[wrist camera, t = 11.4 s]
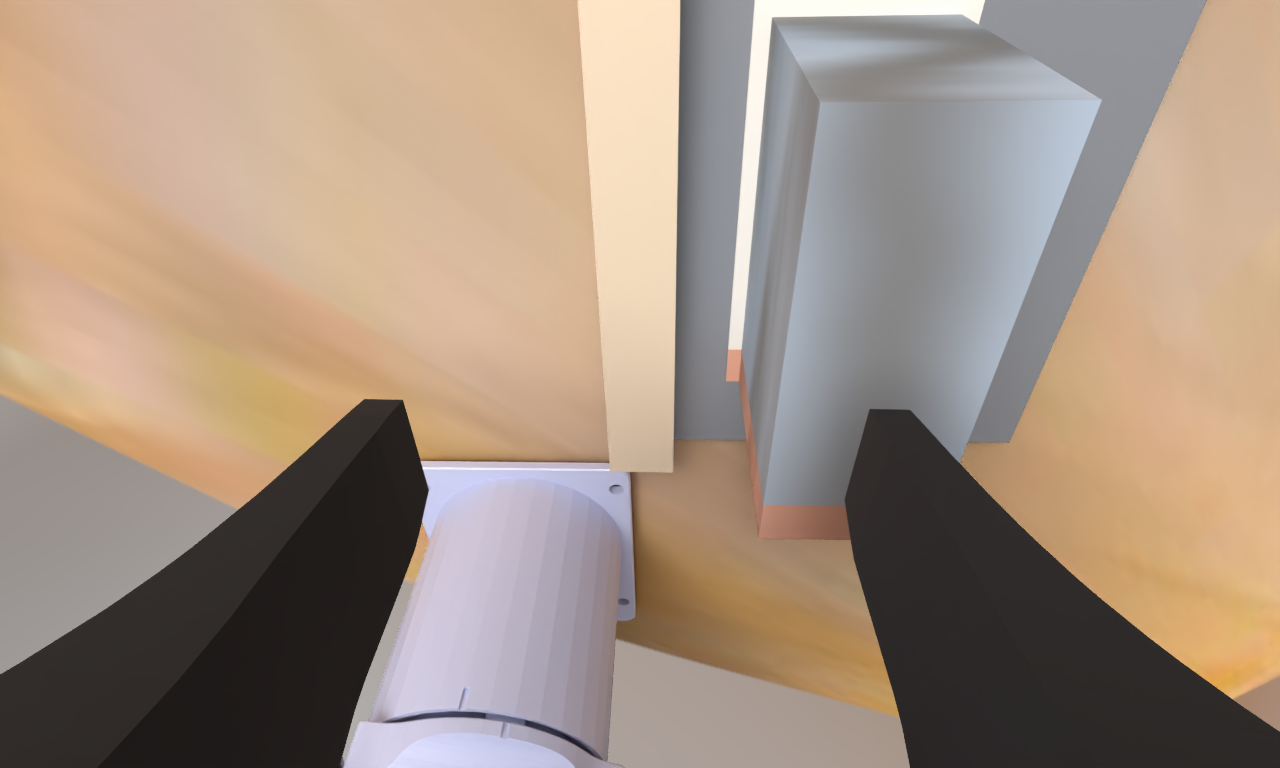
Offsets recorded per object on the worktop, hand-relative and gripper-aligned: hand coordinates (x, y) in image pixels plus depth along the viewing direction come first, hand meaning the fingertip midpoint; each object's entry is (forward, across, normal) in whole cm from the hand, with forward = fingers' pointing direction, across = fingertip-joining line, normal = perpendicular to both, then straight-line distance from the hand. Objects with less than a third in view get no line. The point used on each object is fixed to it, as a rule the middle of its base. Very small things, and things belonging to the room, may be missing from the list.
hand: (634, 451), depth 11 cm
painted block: (+9, -5, 0) cm, 10 cm away
